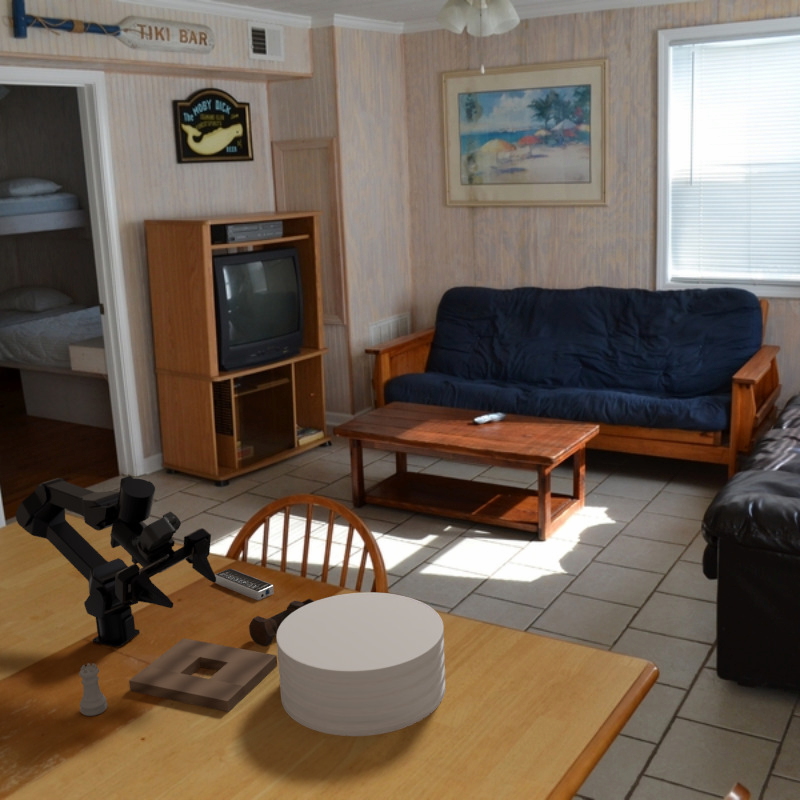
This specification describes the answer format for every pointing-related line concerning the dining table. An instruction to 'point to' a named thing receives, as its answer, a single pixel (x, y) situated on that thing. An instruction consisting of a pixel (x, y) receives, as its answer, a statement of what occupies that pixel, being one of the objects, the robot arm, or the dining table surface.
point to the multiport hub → (244, 584)
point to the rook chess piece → (91, 692)
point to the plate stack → (361, 663)
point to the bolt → (271, 624)
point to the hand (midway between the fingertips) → (194, 593)
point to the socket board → (218, 692)
